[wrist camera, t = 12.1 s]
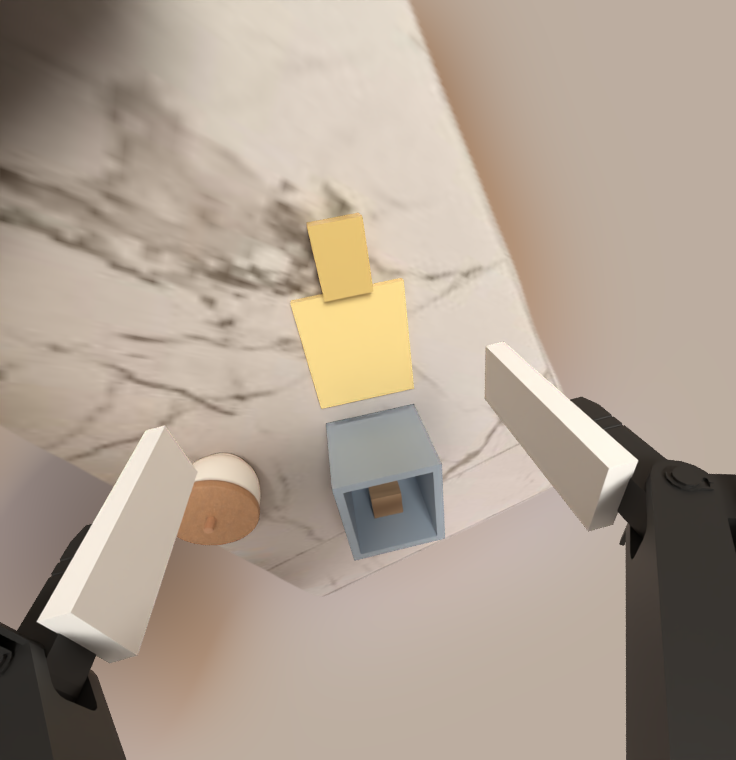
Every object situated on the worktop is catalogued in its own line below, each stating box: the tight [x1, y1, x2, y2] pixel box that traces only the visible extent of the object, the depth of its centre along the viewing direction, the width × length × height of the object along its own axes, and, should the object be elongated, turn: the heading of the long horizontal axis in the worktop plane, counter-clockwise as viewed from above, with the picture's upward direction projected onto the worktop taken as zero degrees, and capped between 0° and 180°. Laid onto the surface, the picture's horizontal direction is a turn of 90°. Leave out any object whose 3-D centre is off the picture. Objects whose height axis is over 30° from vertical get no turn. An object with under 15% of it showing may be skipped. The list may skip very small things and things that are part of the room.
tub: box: [326, 404, 445, 561], centre depth 44 cm, size 14×12×11 cm
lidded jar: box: [176, 453, 260, 545], centre depth 42 cm, size 11×11×9 cm
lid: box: [291, 213, 414, 409], centre depth 37 cm, size 21×12×2 cm, turn 9°
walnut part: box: [368, 481, 403, 518], centre depth 48 cm, size 4×4×6 cm
